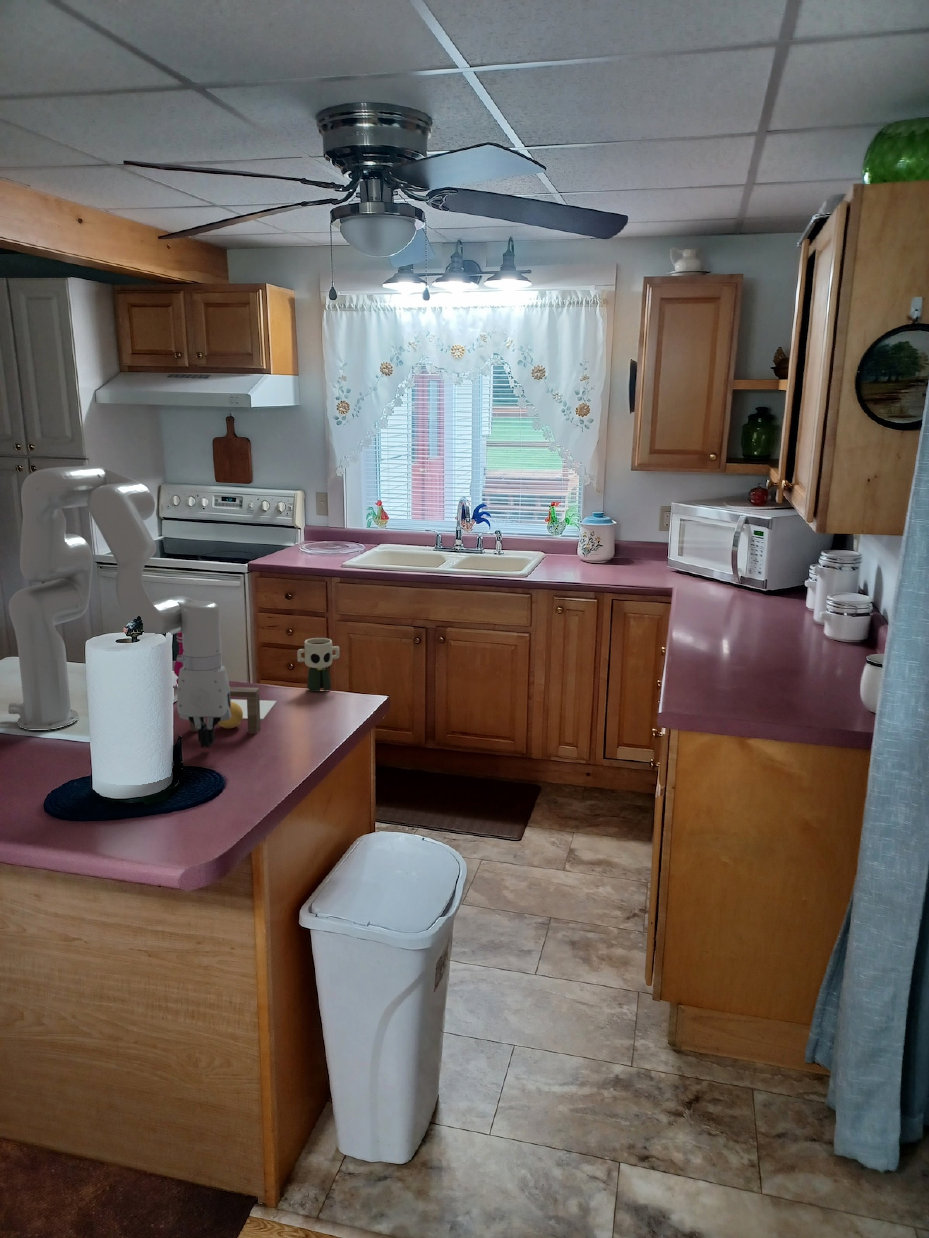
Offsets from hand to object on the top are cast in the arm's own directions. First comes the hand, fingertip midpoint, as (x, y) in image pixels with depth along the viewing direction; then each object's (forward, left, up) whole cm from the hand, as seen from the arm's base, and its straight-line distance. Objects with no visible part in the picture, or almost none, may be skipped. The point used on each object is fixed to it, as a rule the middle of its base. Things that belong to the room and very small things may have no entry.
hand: (206, 745), depth 186 cm
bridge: (0, +13, -2) cm, 13 cm away
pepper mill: (-19, +44, -2) cm, 48 cm away
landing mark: (0, +27, -2) cm, 27 cm away
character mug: (+15, +44, -2) cm, 47 cm away
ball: (+1, +15, +2) cm, 15 cm away
